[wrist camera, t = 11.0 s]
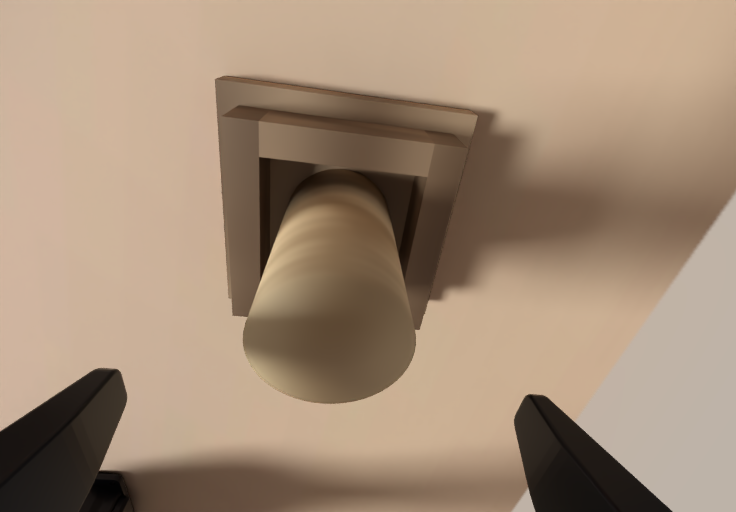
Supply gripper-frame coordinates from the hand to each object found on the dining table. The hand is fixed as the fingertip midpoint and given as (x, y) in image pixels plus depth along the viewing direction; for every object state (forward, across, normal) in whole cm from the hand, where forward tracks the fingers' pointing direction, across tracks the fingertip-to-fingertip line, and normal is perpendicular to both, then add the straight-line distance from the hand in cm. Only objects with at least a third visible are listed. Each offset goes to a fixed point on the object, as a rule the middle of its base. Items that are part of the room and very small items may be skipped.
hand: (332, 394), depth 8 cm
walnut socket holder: (+11, 0, 0) cm, 11 cm away
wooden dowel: (+10, 0, 0) cm, 10 cm away
